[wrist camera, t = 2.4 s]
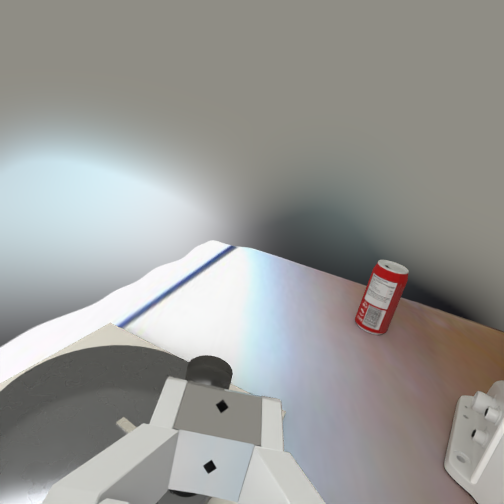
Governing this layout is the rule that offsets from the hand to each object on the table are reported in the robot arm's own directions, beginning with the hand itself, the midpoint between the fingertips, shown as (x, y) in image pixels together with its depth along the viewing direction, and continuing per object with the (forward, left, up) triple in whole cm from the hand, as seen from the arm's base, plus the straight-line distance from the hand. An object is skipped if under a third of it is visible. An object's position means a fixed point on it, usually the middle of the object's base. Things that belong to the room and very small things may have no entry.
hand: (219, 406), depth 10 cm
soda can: (-54, +5, -22) cm, 59 cm away
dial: (-12, -13, -20) cm, 27 cm away
